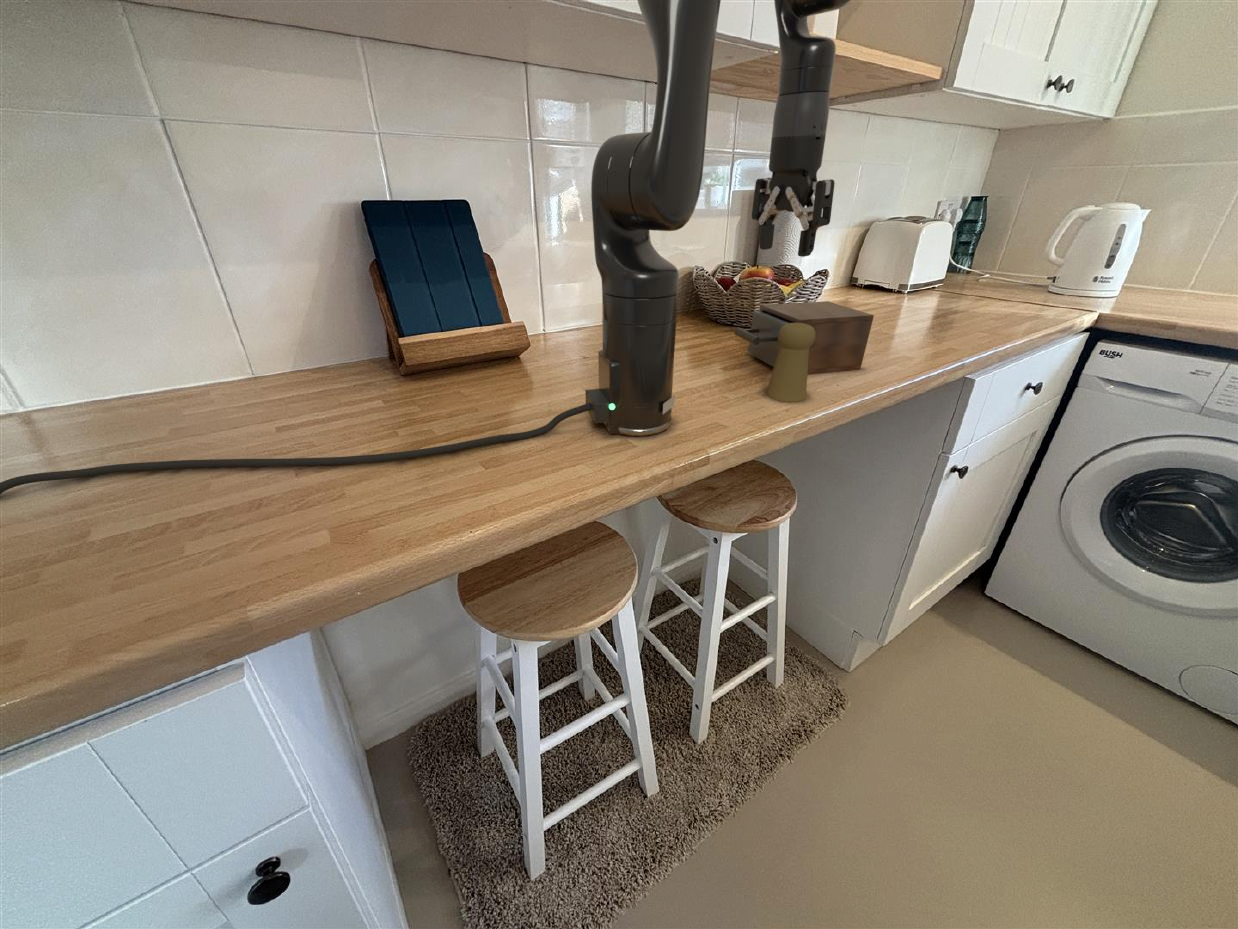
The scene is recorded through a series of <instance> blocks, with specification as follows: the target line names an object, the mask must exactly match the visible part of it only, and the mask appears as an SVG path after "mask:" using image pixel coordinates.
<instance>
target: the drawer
mask: <svg viewBox="0 0 1238 929" xmlns="http://www.w3.org/2000/svg"><path fill="white" fill-rule="evenodd" d="M788 323H794V322H791V321H789V320H786V319H784V318H781V317H779V316H776V315H774V314H771V313H768V312H767V314H766V313H763V312H761V311H760V310H753V311H752V318H751V325H750V328H747V329H745V328H744V329H743V328H741V327H739V326H738V327H735V328H734V330H733V334H734V336H737V337H739V338H741V339H742V340H743V341H746V342H748V348H747V353H748V354H749V355H751V356H753V357H755V358H756V359H759V360H760V361H762V362H764V363H766V364H767V365H769V366H771V367H773V368H774V365H775V362H776V359H777V356H778V352H779V349H780V346H781V345H780V343H779V338H778V335H779V331H780V329H781V327H782V326H783V325H785V324H788Z"/></svg>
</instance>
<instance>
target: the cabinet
mask: <svg viewBox="0 0 1238 929" xmlns="http://www.w3.org/2000/svg"><path fill="white" fill-rule="evenodd" d="M759 311H761V312H763V313H766V314H767V312H768V313H771V314H774V315H776V316H779V317H781V318H784V319H786V320H789V321H791V322H794V323H804V324H808V325H810V326H812V327H813V328H814V330H815V340H814V342H813V344H812V345H811V346H810V347H809V355H808V372H807V375H814V374H825V373H836V372H847V371H855V370H861V368H862V365H863V361H864V357H865V352H866V349H867V345H868V341H869V337H870V333H871V329H872V325H873V321H874V317H875V315H874V314H871V313H867V312H865V311H862V310H858V309H855V308H852V307H848V306H845V305H841V304H838V303H835V302H832V301H829V300H827V301H825V300H824V301H808V302H807V301H806V302H792V303H791V302H790V303H769V304H761V305H760V308H759Z"/></svg>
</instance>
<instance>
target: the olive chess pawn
mask: <svg viewBox="0 0 1238 929" xmlns="http://www.w3.org/2000/svg"><path fill="white" fill-rule="evenodd" d="M778 338H779V343H780V345H781V346H780V349H779V352H778V356H777V359H776V362H775V365H774V367H773V368H772V372H771V375H770V379H769V381H768V386H767V389H766V392H765V394H766V395H767V396H768V397H769V398H771V399H773V400H776V401H781V402H787V403H797V402H802V401H804V400H806V398H807V388H808V387H807V386H808V374H807V372H808V355H809V347H810V346H811V345H812V344H813V342H814V340H815V330H814V328H813V327H812V326H810V325H808V324H804V323H788V324H785V325H783V326H782V327H781V329H780V331H779V335H778Z"/></svg>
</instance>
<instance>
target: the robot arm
mask: <svg viewBox="0 0 1238 929" xmlns="http://www.w3.org/2000/svg"><path fill="white" fill-rule="evenodd" d="M721 1H722V0H637V4H638V7H639V10H640V13H641V16H642V18H643V21H644V24H645V27H646V30H647V33H648V36H649V38H650V42H651V44H652V49H653V53H654V58H655V64H656V94H655V106H654V114H653V121H652V127H651V131H645V132H644V131H643V132H633V133H632V132H631V133H623V134H622V133H621V134H616V135H613V136H610V138H607V139H606V140H605V141H604V142H603V143H602V144H601V146H600V147H599V149H598V151H597V153H596V155H595V158H594V161H593V165H592V166H593V167H592V171H591V181H590V182H591V183H590V186H591V187H590V199H591V215H592V231H593V245H594V247H593V248H594V259H595V260H594V261H595V265H596V269H597V271H598V274H599V276H600V279H601V309H602V312H601V318H602V319H601V321H602V322H601V325H602V327H601V328H602V330H601V332H602V349H600V350H599V351H598V356H597V358H598V388H594V389H593V388H592V389H585V403H584V404H582V405H579V406H576V407H572V408H569V409H567V410H564V411H563V412H561V413H559V414H557V415H555V416H554V417H553V418H552V419H551V420H550V421H549V422H548V423H546V424H544V425H543V426H541V427H538V428H534V429H531V430H528V431H522V432H521V431H520V432H515V433H505V434H498V435H492V436H491V435H490V436H487V437H481V438H476V439H471V440H466V441H460V442H457V443H449V444H445V445H439V446H432V447H426V448H425V447H424V448H419V449H411V450H405V451H395V452H386V453H376V454H375V453H374V454H364V455H363V454H362V455H353V456H352V455H351V456H349V455H348V456H328V457H326V456H325V457H295V458H293V457H291V458H224V459H223V458H219V459H218V458H217V459H216V458H215V459H213V458H211V459H210V458H209V459H182V460H179V459H178V460H163V461H162V460H161V461H147V462H128V463H118V464H108V465H102V466H101V465H100V466H94V467H87V468H81V469H71V470H60V471H58V470H57V471H48V472H47V471H46V472H38V473H30V474H24V475H20V476H16V477H15V476H14V477H12V478H9V479H6V480H3V481H0V495H1V494H3V493H4V492H7V491H8V490H11V489H13V488H16V487H19V486H22V485H28V484H33V483H41V482H51V481H62V480H72V479H80V478H88V477H95V476H102V475H109V474H115V473H116V474H117V473H127V472H128V473H129V472H140V471H141V472H143V471H160V470H175V469H176V470H179V469H204V468H205V469H206V468H207V469H208V468H209V469H210V468H261V467H262V468H265V467H266V468H269V467H272V468H273V467H274V468H275V467H276V468H279V467H281V468H282V467H283V468H285V467H316V466H317V467H318V466H341V465H343V466H344V465H357V464H371V463H372V464H373V463H381V462H382V463H383V462H391V461H401V460H408V459H409V460H410V459H416V458H424V457H430V456H435V455H442V454H447V453H454V452H458V451H463V450H468V449H472V448H477V447H482V446H486V445H493V444H497V443H505V442H513V441H521V440H526V439H532V438H536V437H539V436H541V435H544V434H546V433H549V432H550V431H552V430H553V429H555V427H556V426H558V424H560V423H561V422H563V421H564V420H566V419H568V418H571V417H573V416H576V415H580V414H582V413H586V412H588V414H589V416H590V417H591V419H592V421H593V422H594V424H602V425H603V426H604V427H605V429H606V430H607V432H608V433H609V435H618V434H619V435H624V436H631V437H634V436H635V437H636V436H637V437H641V436H643V437H644V436H645V437H646V436H651V435H657V434H660V433H662V432H664V431H666V430H668V429H669V428H670V426H671V424H672V408H673V407H674V406H675V402H676V394H673V383H674V370H675V368H674V366H675V352H676V351H675V349H676V335H677V333H676V332H677V317H678V303H679V289H680V288H679V286H680V272H679V269H678V268H677V267H676V265H674V264H673V263H671V261H669V260H667V259H666V258H664V256H662V255H661V254H660V253H659V252H658V251H657V250H656V249H655V247H654V246H653V244H652V241H651V234H650V231H659V232H674V231H678V230H680V229H682V228H683V227H685V225H687V224H688V223H689V221H690V219H691V218H692V217H693V215H694V212H695V210H696V207H697V204H698V201H699V199H700V198H699V197H700V194H701V193H700V192H701V187H702V182H703V174H704V166H705V154H706V144H707V142H706V141H707V130H708V129H707V128H708V114H709V101H710V91H711V90H710V88H711V78H712V68H713V62H714V61H713V60H714V51H715V43H716V37H717V30H718V23H719V22H718V20H719V15H720V8H721ZM851 1H852V0H773V2H774V10H775V17H776V24H777V32H778V44H779V54H780V67H779V78H778V88H777V98H776V103H775V108H774V113H773V120H772V130H771V141H770V151H769V152H770V153H769V162H768V170H769V172H770V173H772V175H771V177H765V178H764V177H763V178H757V179H756V181H755V183H754V184H755V186H754V194H753V201H752V210H751V219H752V220H753V221H755V220H756V221H757V222H758V224H759V226H760V227H759V229H760V230H759V239H758V246H759V249H760V250H764V251H765V250H770V249H772V248H773V244H774V235H775V234H774V233H775V225H776V224H775V221H776V220H777V218H778V217H779V215H780V214H781V213H783V212H784V211H786V212H788V213H794V216H795V217H796V218H797V219H798V220H799V222H800V225H801V228H802V230H800V233H799V234H800V236H799V241H798V242H799V243H798V251H797V256H798V257H801V258H804V257H809V256H810V255H811V254H812V253H813V251H814V249H815V244H816V243H815V242H816V235H817V231H818V229H820V228H821V227H824V226H828V225H830V223H831V218H832V217H831V216H832V210H833V201H834V193H835V184H836V182H835V179H831V178H830V179H823V180H818V176H817V175H818V174H817V173H818V171H819V170H820V168H821V167H822V163H823V157H824V156H823V155H824V151H825V143H826V135H827V128H828V122H829V115H830V96H831V89H832V88H831V87H832V81H833V75H834V67H835V60H836V51H837V49H836V43H835V41H834V40H833V39H832V38H829V37H826V36H818V35H817V36H816V35H811V33H810V30H809V25H808V17H811V16H815V15H820V14H825V13H829V12H834V11H837V10H840V9H842V8H844V7H846V6H848V4H850V2H851Z"/></svg>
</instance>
